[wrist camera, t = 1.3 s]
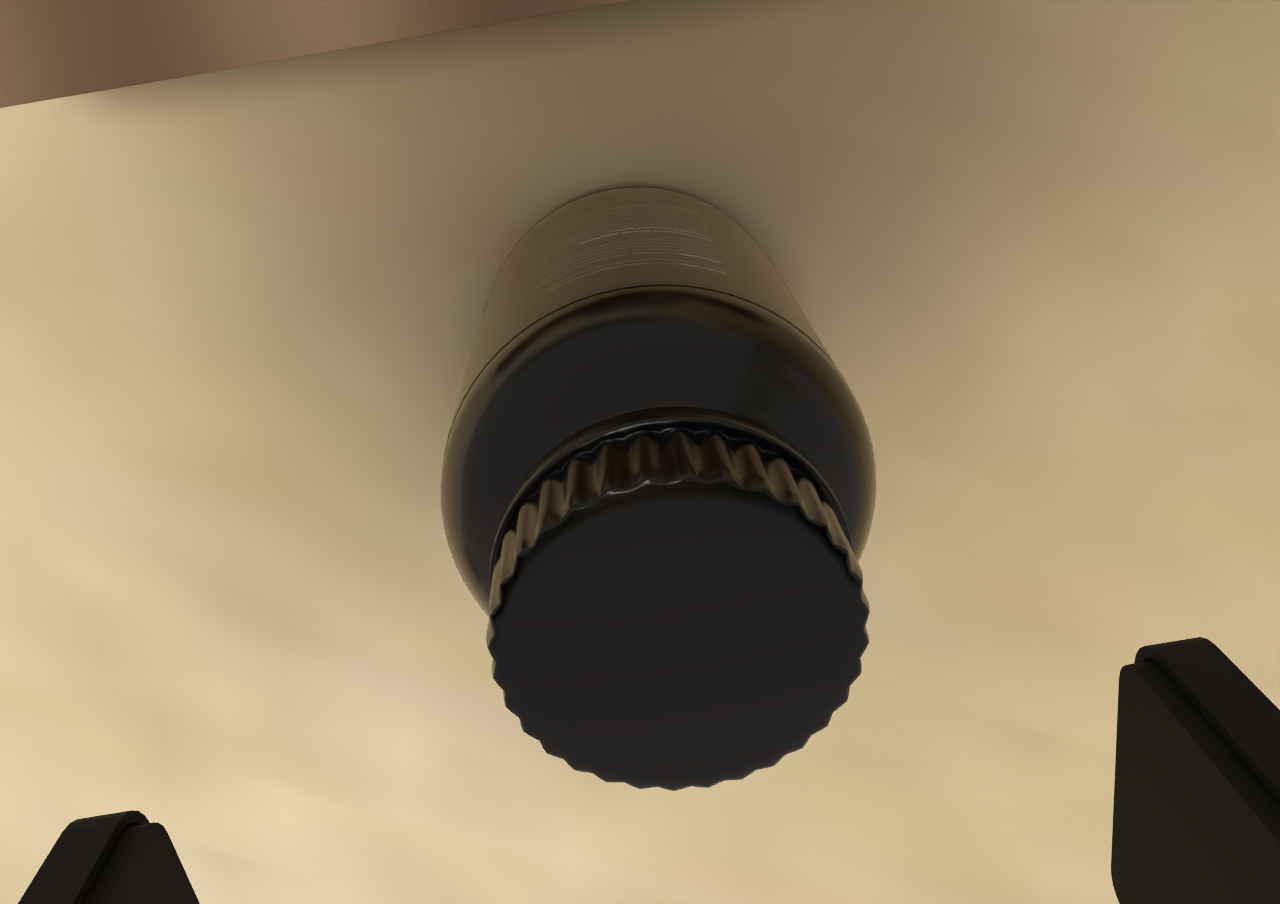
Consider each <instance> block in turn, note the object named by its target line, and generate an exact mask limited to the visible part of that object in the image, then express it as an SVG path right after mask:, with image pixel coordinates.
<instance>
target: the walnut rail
mask: <svg viewBox="0 0 1280 904" xmlns="http://www.w3.org/2000/svg"><path fill="white" fill-rule="evenodd" d="M622 1H628V0H0V108H2V107H8V106H14V105H20V104H26V103H31V102H37V101H43V100H49V99H55V98H61V97H67V96H72V95H78V94H84V93H90V92H96V91H102V90H108V89H113V88H119V87H125V86H131V85H137V84H143V83H149V82H154V81H160V80H166V79H172V78H178V77H184V76H189V75H195V74H201V73H207V72H213V71H219V70H225V69H230V68H236V67H242V66H248V65H254V64H260V63H266V62H271V61H277V60H283V59H289V58H295V57H301V56H306V55H312V54H318V53H324V52H330V51H336V50H342V49H347V48H353V47H359V46H365V45H371V44H377V43H383V42H388V41H394V40H400V39H406V38H412V37H418V36H424V35H429V34H435V33H441V32H447V31H453V30H459V29H464V28H470V27H476V26H482V25H488V24H494V23H500V22H505V21H511V20H517V19H523V18H529V17H535V16H541V15H546V14H552V13H558V12H564V11H570V10H576V9H581V8H587V7H593V6H599V5H605V4H611V3H617V2H622Z"/></svg>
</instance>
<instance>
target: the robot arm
mask: <svg viewBox="0 0 1280 904" xmlns="http://www.w3.org/2000/svg"><path fill="white" fill-rule="evenodd" d="M1111 875H1112V881H1113V886H1114V889H1115V892H1116V896H1117V898H1118V901H1119V903H1120V904H1280V710H1279V709H1278V708H1277V707H1276V706H1275V705H1274V704H1273V703H1272V702H1271V701H1270V700H1269V699H1268V698H1267V697H1266V696H1265V695H1264V694H1263V693H1262V692H1261V691H1260V690H1259V689H1258V688H1257V687H1256V686H1255V685H1254V684H1253V683H1252V682H1251V681H1250V680H1249V679H1248V678H1247V677H1246V676H1245V675H1244V674H1243V673H1242V672H1241V671H1240V670H1239V668H1238V667H1237V666H1236V665H1235V664H1234V663H1233V662H1232V661H1231V660H1230V659H1229V658H1228V657H1227V656H1226V655H1225V654H1224V653H1223V652H1222V651H1221V650H1220V649H1219V648H1218V647H1217V646H1216V645H1215V644H1213V643H1212V642H1211V641H1209V640H1208V639H1205V638H1201V637H1198V638H1192V639H1186V640H1180V641H1174V642H1168V643H1161V644H1155V645H1149V646H1144V647H1142V648H1140V649H1139V650H1138V652H1137V654H1136V657H1135V663H1134V664H1129V665H1125V666H1123V667H1122V669H1121V671H1120V677H1119V695H1118V719H1117V742H1116V765H1115V789H1114V812H1113V835H1112V859H1111ZM18 904H200V903H199V901H198V899H197V897H196V895H195V892H194V890H193V888H192V886H191V884H190V881H189V879H188V877H187V875H186V873H185V870H184V868H183V866H182V864H181V862H180V859H179V857H178V855H177V853H176V850H175V848H174V846H173V844H172V842H171V839H170V837H169V835H168V833H167V831H166V830H165V828H164V826H162V825H161V824H159V823H149V821H148V820H147V818H146V816H145V815H143V814H142V813H140V812H139V811H126V812H120V813H114V814H108V815H101V816H95V817H89V818H83V819H77V820H75V821H74V822H72V823H70V824H69V825H68V826H67V827H66V828H65V830H64V831H63V832H62V834H61V835H60V837H59V838H58V840H57V842H56V843H55V845H54V846H53V848H52V850H51V851H50V853H49V855H48V856H47V858H46V859H45V861H44V863H43V864H42V866H41V867H40V869H39V871H38V872H37V874H36V875H35V877H34V879H33V880H32V882H31V884H30V885H29V887H28V888H27V890H26V892H25V893H24V895H23V896H22V898H21V900H20V901H19V903H18Z"/></svg>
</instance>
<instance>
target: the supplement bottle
mask: <svg viewBox="0 0 1280 904" xmlns="http://www.w3.org/2000/svg"><path fill="white" fill-rule="evenodd" d="M875 495H876V471H875V460H874V453H873V446H872V443H871V439H870V435H869V431H868V428H867V425H866V422H865V420H864V417H863V415H862V412H861V410H860V407H859V405H858V403H857V401H856V399H855V397H854V395H853V393H852V391H851V389H850V388H849V386H848V384H847V382H846V381H845V379H844V377H843V376H842V374H841V372H840V371H839V369H838V368H837V366H836V364H835V363H834V361H833V360H832V358H831V356H830V355H829V353H828V352H827V350H826V348H825V347H824V345H823V344H822V342H821V341H820V339H819V337H818V336H817V334H816V333H815V331H814V329H813V328H812V326H811V325H810V323H809V321H808V320H807V318H806V317H805V315H804V314H803V312H802V310H801V309H800V307H799V306H798V304H797V302H796V301H795V299H794V298H793V296H792V294H791V293H790V291H789V290H788V288H787V287H786V285H785V283H784V282H783V280H782V279H781V277H780V275H779V274H778V272H777V271H776V269H775V268H774V266H773V265H772V263H771V262H770V260H769V258H768V257H767V256H766V254H765V253H764V251H763V250H762V248H761V247H760V246H759V245H758V244H757V242H756V241H755V240H754V239H753V238H752V236H750V235H749V234H748V233H747V232H746V231H745V230H744V229H743V228H742V227H741V226H740V225H739V224H738V223H736V222H735V221H734V220H733V219H731V218H730V217H729V216H727V215H726V214H724V213H723V212H721V211H720V210H718V209H717V208H715V207H713V206H711V205H709V204H707V203H705V202H703V201H701V200H699V199H696V198H694V197H691V196H688V195H685V194H682V193H678V192H674V191H670V190H664V189H658V188H645V187H633V188H619V189H612V190H607V191H602V192H598V193H594V194H591V195H588V196H585V197H583V198H580V199H577V200H575V201H573V202H571V203H569V204H567V205H564V206H563V207H561V208H559V209H558V210H556V211H554V212H553V213H551V214H550V215H548V216H547V217H546V218H544V219H543V220H541V221H540V222H539V223H538V224H537V225H535V226H534V227H533V228H532V229H531V230H530V231H529V232H528V233H527V234H526V235H525V236H524V237H523V238H522V239H521V240H520V242H519V243H518V244H517V245H516V246H515V248H514V249H513V251H512V252H511V253H510V255H509V256H508V258H507V259H506V261H505V263H504V264H503V266H502V268H501V269H500V271H499V273H498V275H497V278H496V280H495V282H494V284H493V287H492V290H491V293H490V295H489V298H488V301H487V304H486V307H485V310H484V313H483V317H482V320H481V324H480V327H479V331H478V334H477V338H476V341H475V345H474V348H473V352H472V355H471V359H470V362H469V365H468V369H467V372H466V376H465V379H464V383H463V386H462V390H461V393H460V397H459V400H458V404H457V407H456V411H455V414H454V418H453V421H452V425H451V428H450V432H449V436H448V441H447V445H446V450H445V455H444V461H443V470H442V481H441V509H442V516H443V524H444V529H445V533H446V537H447V541H448V545H449V548H450V551H451V554H452V557H453V559H454V562H455V565H456V567H457V569H458V571H459V573H460V575H461V577H462V579H463V581H464V583H465V584H466V586H467V587H468V589H469V591H470V592H471V594H472V595H473V597H474V599H475V600H476V601H477V603H478V604H479V605H480V606H481V608H482V609H483V610H484V612H485V613H486V614H487V615H488V616H489V622H488V629H487V636H486V641H487V647H488V649H489V651H490V654H491V656H492V658H493V661H492V675H493V678H494V680H495V681H496V683H497V684H498V685H499V686H500V687H501V688H502V690H503V695H504V702H505V706H506V707H507V708H508V709H509V710H510V711H511V712H512V713H514V714H515V715H516V716H518V717H519V718H520V723H521V726H522V729H523V731H524V732H525V733H527V734H528V735H530V736H532V737H534V738H536V739H537V740H539V741H540V742H541V744H542V747H543V748H544V750H545V751H546V752H547V753H548V754H550V755H553V756H555V757H558V758H562V759H564V760H565V761H566V762H567V763H568V764H569V765H570V766H571V767H572V768H573V769H574V770H577V771H581V772H589V773H593V774H595V775H596V776H597V777H599V778H600V779H602V780H604V781H606V782H625V783H627V784H629V785H631V786H633V787H636V788H639V789H643V788H650V787H661V788H664V789H668V790H673V791H675V790H679V789H683V788H686V787H690V786H695V787H708V788H709V787H711V786H713V785H716V784H717V783H719V782H722V781H724V780H739V779H743V778H745V777H746V776H748V775H749V774H751V773H752V772H754V771H755V770H758V769H763V768H767V767H771V766H774V765H775V764H776V763H778V762H779V761H780V759H781V758H782V757H783V756H784V755H786V754H789V753H791V752H794V751H796V750H799V749H801V748H803V747H804V745H805V744H806V743H807V741H808V739H809V738H810V736H811V735H813V734H815V733H816V732H818V731H820V730H822V729H823V728H825V727H827V725H828V723H829V721H830V719H831V716H832V713H833V712H834V711H835V710H837V709H838V708H839V707H840V706H842V705H843V704H844V703H845V702H846V701H847V699H848V695H849V688H850V685H851V684H852V683H853V682H854V681H855V680H856V679H857V677H858V676H859V675H860V673H861V659H860V657H861V656H862V654H863V652H864V651H865V649H866V647H867V645H868V643H869V637H868V633H867V629H866V626H865V624H866V622H867V619H868V615H869V603H868V600H867V598H866V595H865V593H864V591H863V588H862V584H863V578H862V572H861V569H860V566H859V564H858V562H859V559H860V557H861V555H862V552H863V550H864V547H865V544H866V541H867V538H868V534H869V531H870V528H871V523H872V518H873V513H874V507H875Z"/></svg>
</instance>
